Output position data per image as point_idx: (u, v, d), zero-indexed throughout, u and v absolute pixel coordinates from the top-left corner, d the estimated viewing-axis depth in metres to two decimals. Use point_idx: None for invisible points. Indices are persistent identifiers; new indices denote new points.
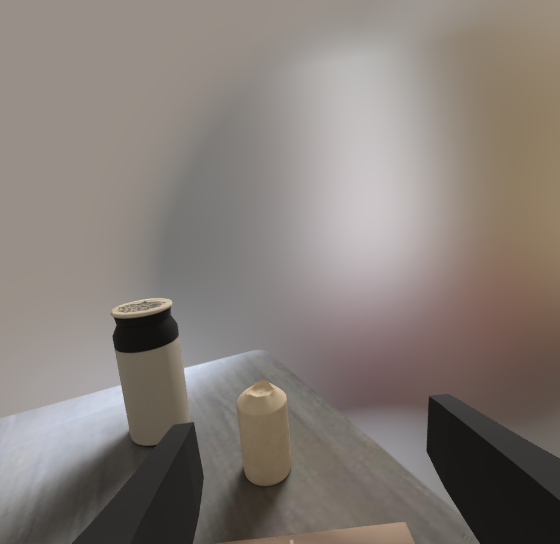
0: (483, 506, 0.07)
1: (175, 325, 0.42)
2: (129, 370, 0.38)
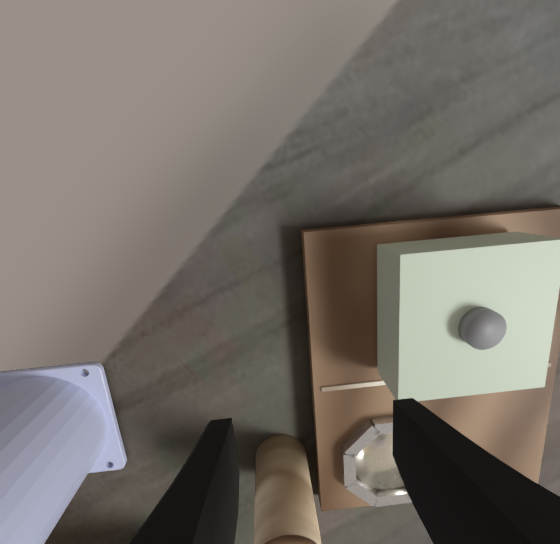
0: (438, 512, 0.07)
1: None
2: None
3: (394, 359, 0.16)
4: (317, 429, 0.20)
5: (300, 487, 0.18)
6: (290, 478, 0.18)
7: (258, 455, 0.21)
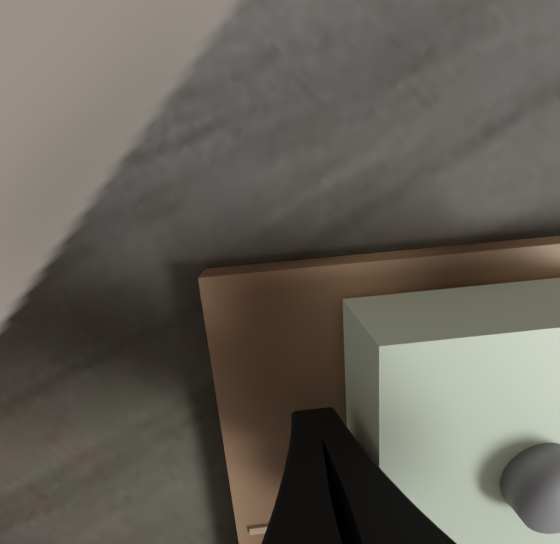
0: None
1: None
2: None
3: None
4: None
5: None
6: None
7: None
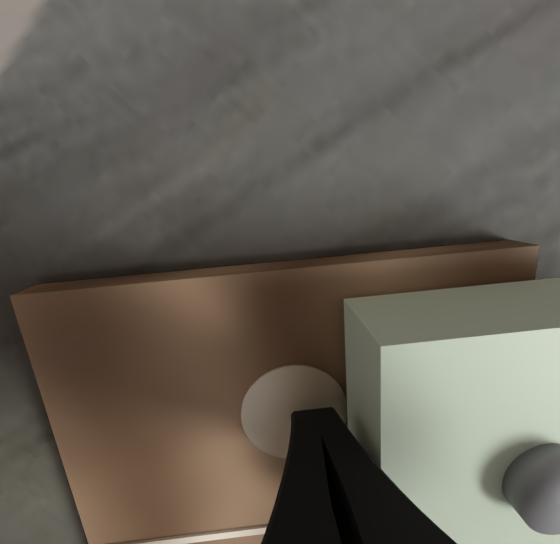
0: None
1: None
2: None
3: None
4: None
5: None
6: None
7: None
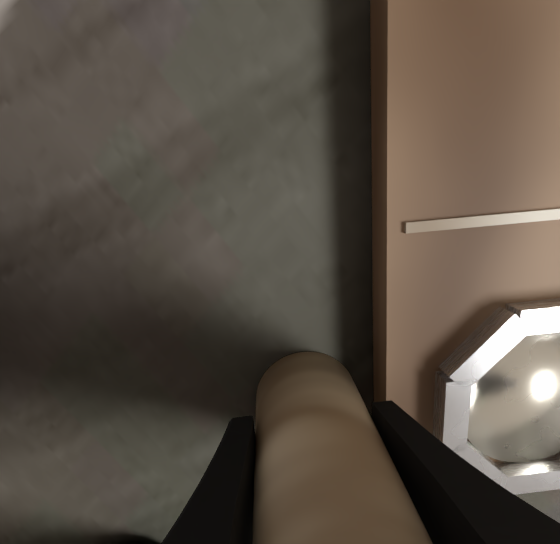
0: None
1: None
2: None
3: None
4: (389, 328, 0.09)
5: (367, 442, 0.07)
6: (341, 422, 0.08)
7: (262, 389, 0.10)
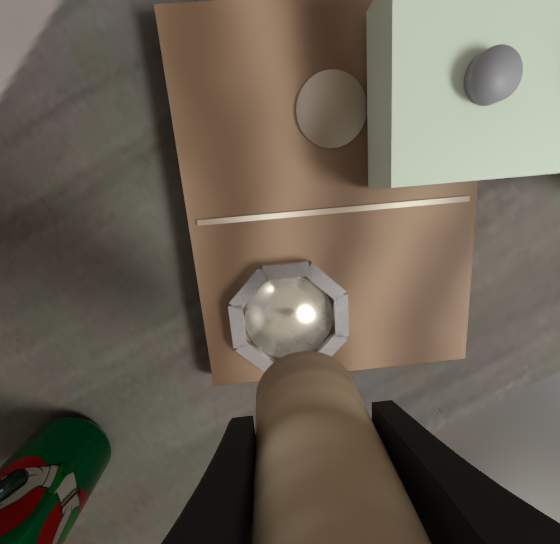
0: None
1: None
2: None
3: (386, 133, 0.13)
4: (198, 277, 0.17)
5: (366, 440, 0.07)
6: (340, 420, 0.08)
7: (262, 388, 0.10)
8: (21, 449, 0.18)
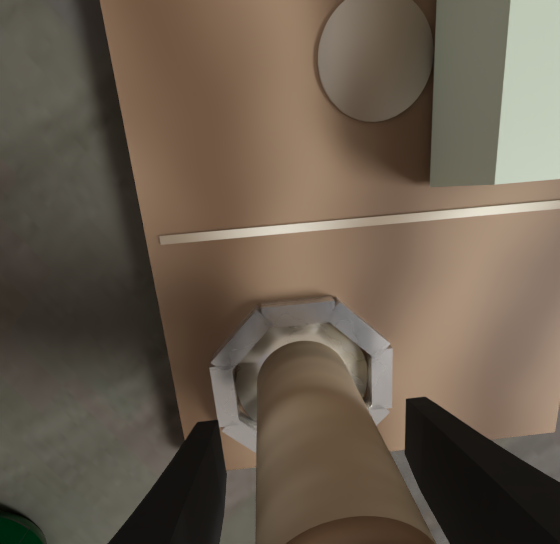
0: (454, 510, 0.07)
1: None
2: None
3: (488, 86, 0.07)
4: (164, 322, 0.11)
5: (358, 416, 0.08)
6: (335, 399, 0.08)
7: (262, 375, 0.11)
8: None
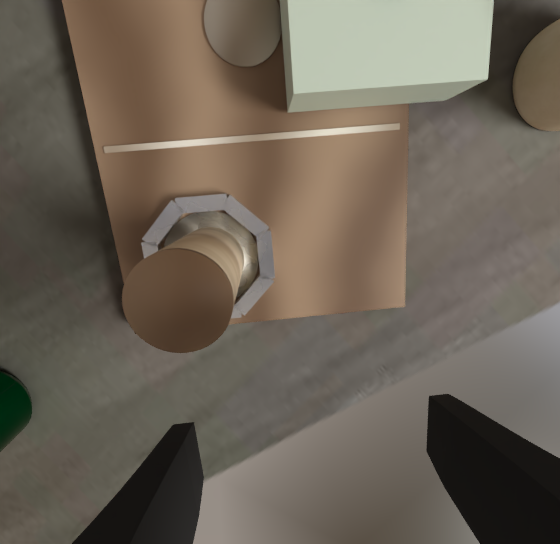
0: (483, 506, 0.07)
1: None
2: None
3: (288, 33, 0.12)
4: (109, 212, 0.16)
5: (215, 242, 0.13)
6: (205, 236, 0.13)
7: None
8: None
